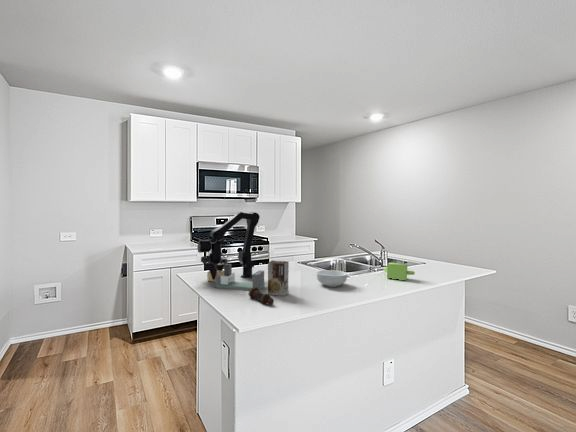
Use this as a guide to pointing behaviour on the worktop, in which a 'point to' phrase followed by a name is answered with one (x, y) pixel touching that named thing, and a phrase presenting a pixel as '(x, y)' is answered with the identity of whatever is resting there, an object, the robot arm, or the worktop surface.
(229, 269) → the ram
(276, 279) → the coffee box
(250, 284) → the press frame
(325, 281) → the cereal bowl
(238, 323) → the worktop surface
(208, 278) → the block
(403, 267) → the gearbox
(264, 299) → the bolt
